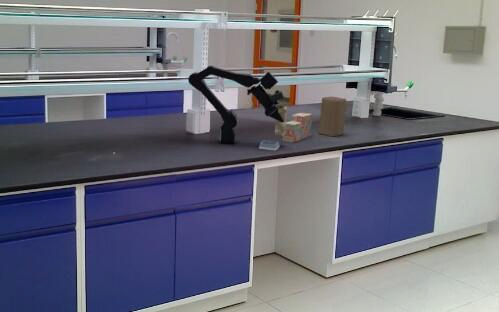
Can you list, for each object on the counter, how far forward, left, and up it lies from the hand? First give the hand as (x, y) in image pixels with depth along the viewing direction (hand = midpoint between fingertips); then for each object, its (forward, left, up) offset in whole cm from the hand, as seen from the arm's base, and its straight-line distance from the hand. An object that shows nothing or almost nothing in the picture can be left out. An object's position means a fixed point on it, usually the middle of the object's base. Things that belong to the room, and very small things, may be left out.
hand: (283, 121), depth 268 cm
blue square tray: (-7, -3, -12) cm, 14 cm away
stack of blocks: (+13, +19, -13) cm, 26 cm away
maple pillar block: (-1, +1, -6) cm, 7 cm away
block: (+35, +31, -13) cm, 49 cm away
